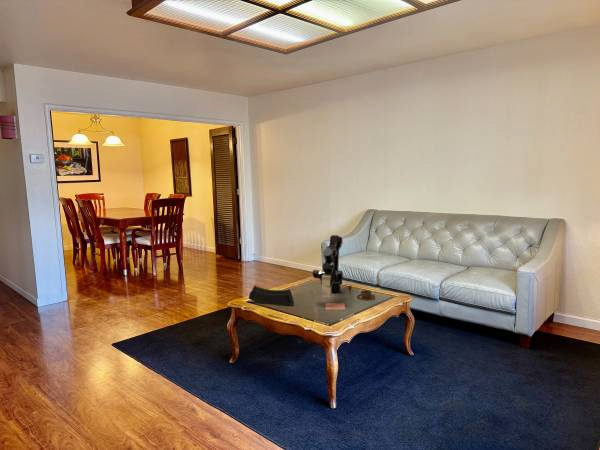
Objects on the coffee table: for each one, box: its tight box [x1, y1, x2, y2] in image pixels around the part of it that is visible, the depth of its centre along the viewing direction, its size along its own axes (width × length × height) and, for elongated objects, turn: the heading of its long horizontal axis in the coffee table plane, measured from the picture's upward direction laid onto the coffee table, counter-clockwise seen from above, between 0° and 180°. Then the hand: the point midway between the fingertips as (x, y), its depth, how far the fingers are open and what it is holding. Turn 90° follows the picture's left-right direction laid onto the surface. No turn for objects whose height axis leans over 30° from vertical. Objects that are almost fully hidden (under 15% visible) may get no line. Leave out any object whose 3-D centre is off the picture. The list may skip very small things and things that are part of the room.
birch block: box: [321, 275, 332, 298], centre depth 254 cm, size 5×5×13 cm
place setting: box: [347, 285, 376, 301], centre depth 276 cm, size 18×20×6 cm
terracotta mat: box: [325, 302, 346, 311], centre depth 255 cm, size 12×12×1 cm
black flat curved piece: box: [248, 285, 295, 306], centre depth 264 cm, size 17×3×30 cm
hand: (326, 286), depth 253 cm, fingers closed on birch block, 5 cm apart
